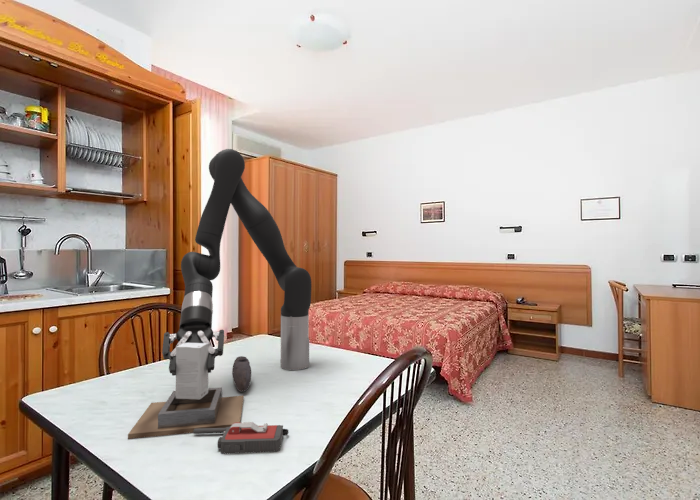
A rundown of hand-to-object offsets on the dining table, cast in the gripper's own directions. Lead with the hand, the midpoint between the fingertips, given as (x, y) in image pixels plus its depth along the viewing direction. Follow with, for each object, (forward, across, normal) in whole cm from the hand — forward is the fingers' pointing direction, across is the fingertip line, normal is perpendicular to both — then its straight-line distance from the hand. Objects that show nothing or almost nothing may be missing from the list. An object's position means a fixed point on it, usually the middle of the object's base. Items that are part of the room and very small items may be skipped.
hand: (191, 372), depth 85 cm
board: (+7, 0, +9) cm, 11 cm away
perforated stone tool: (-5, +12, +21) cm, 24 cm away
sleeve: (+7, 0, +9) cm, 11 cm away
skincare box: (+3, 0, +5) cm, 6 cm away
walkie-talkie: (+18, +10, -2) cm, 20 cm away
